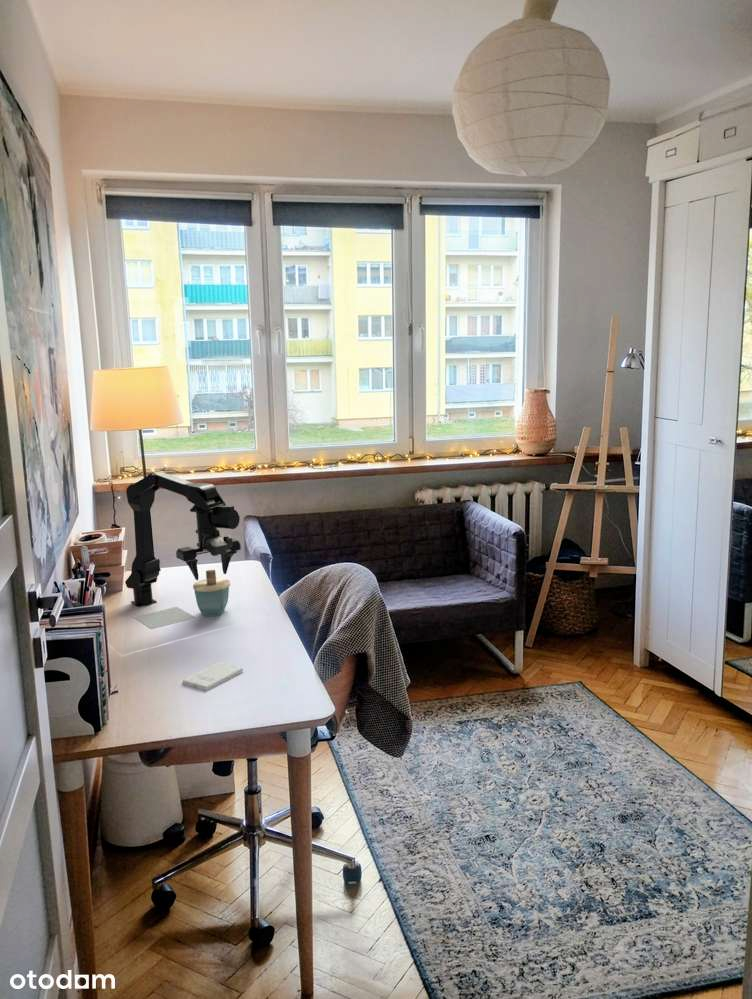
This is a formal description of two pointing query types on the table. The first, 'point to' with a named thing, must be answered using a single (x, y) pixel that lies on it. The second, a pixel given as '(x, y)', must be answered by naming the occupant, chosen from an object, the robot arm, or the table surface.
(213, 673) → the external hard drive
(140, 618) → the mat
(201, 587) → the lid
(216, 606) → the flower pot
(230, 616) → the table surface
